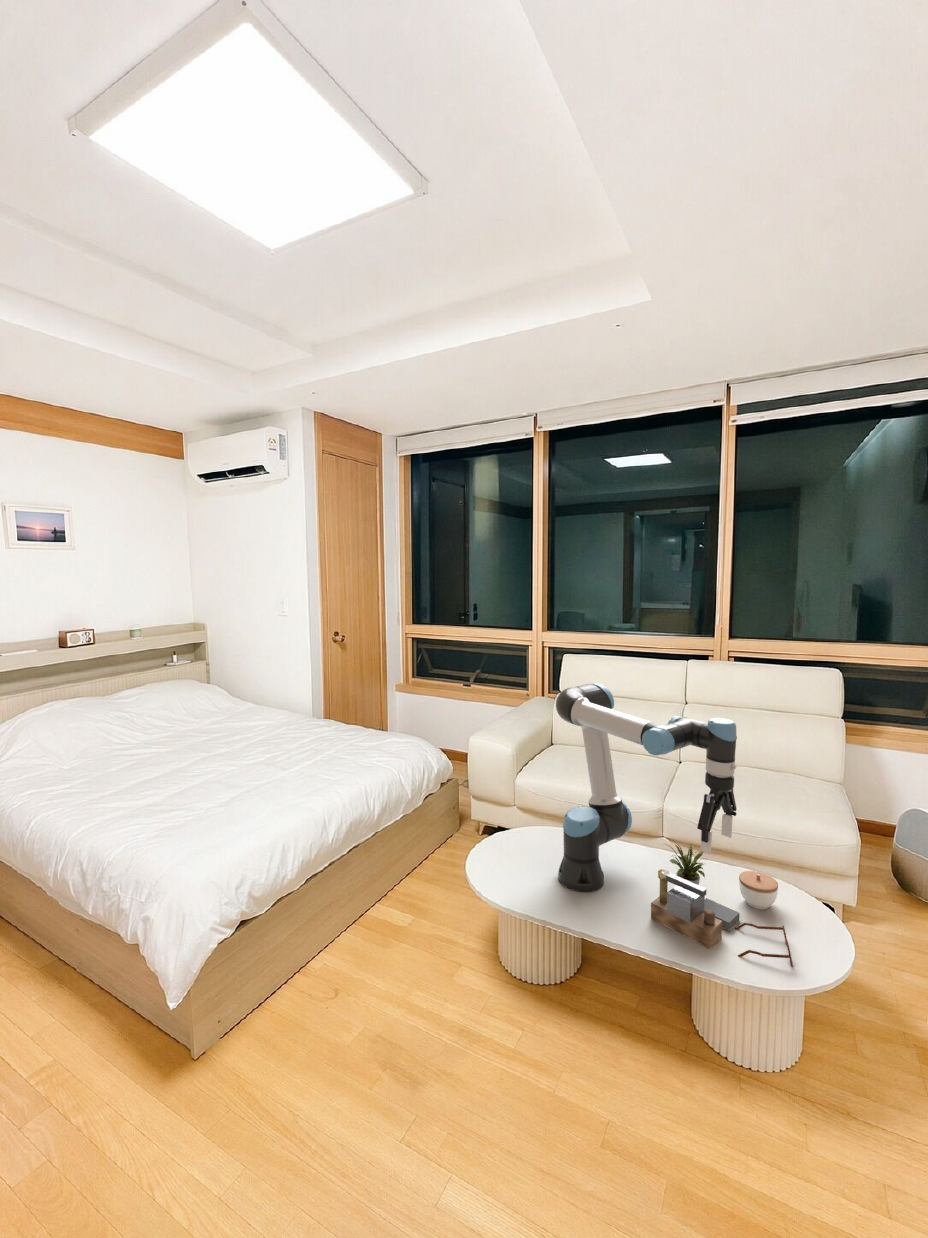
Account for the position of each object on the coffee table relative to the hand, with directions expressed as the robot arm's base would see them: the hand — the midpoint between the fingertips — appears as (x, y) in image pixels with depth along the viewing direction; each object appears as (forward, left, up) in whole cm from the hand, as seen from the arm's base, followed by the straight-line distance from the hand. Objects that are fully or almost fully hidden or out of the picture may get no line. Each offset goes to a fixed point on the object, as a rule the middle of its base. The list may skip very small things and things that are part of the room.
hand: (716, 843), depth 160 cm
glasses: (+13, 0, -25) cm, 29 cm away
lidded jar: (+4, +20, -25) cm, 32 cm away
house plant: (-14, +8, -25) cm, 30 cm away
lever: (-6, -8, -12) cm, 16 cm away
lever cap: (-5, -8, -20) cm, 22 cm away
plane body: (-5, -8, -25) cm, 26 cm away
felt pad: (-1, +4, -25) cm, 25 cm away
